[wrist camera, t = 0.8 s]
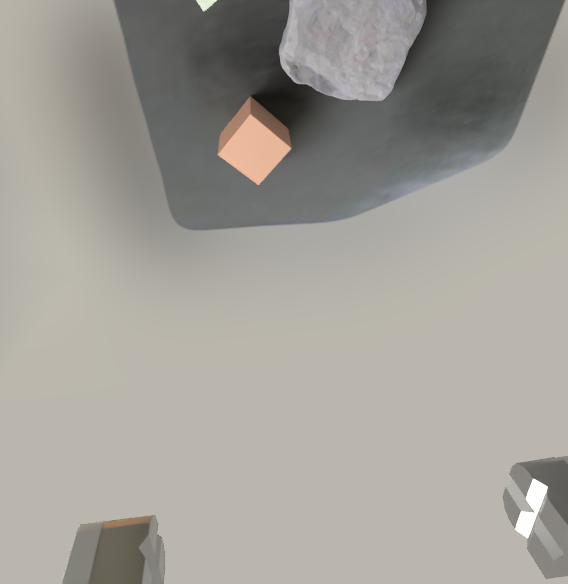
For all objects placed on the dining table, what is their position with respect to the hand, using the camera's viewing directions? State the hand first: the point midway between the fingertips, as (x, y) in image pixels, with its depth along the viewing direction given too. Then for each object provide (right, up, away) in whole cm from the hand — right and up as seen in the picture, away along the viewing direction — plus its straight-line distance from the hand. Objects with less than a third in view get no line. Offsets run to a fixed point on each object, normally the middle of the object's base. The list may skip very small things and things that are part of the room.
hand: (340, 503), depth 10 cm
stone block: (+4, +29, +31) cm, 43 cm away
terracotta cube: (-4, +21, +36) cm, 42 cm away
